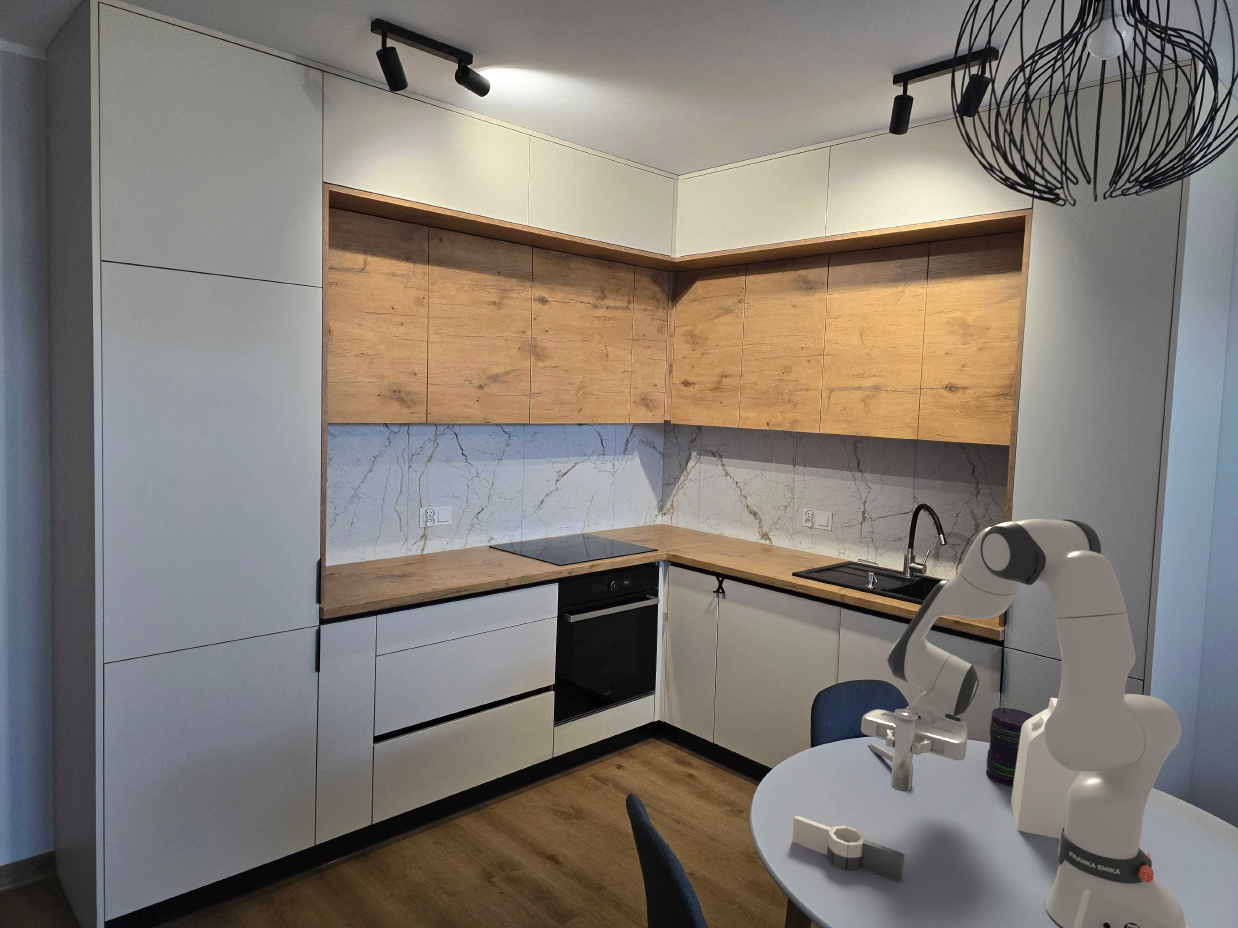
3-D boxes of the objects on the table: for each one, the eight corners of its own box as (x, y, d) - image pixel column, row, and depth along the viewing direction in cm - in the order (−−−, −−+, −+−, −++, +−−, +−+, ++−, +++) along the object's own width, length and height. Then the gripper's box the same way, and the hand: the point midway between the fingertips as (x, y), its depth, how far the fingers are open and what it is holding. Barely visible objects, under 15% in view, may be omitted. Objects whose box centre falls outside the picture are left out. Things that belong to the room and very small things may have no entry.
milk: (1079, 842, 169) (1093, 718, 167) (1017, 830, 173) (1029, 708, 170) (1069, 814, 181) (1082, 697, 178) (1010, 802, 184) (1022, 688, 182)
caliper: (912, 786, 191) (914, 759, 190) (907, 786, 190) (909, 759, 190) (871, 746, 211) (873, 722, 210) (867, 746, 210) (869, 722, 210)
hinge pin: (915, 785, 166) (921, 712, 164) (908, 794, 162) (914, 719, 161) (892, 779, 169) (898, 706, 167) (885, 787, 165) (891, 713, 163)
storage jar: (1041, 784, 194) (1048, 722, 192) (1009, 790, 190) (1015, 727, 188) (1007, 765, 203) (1013, 705, 201) (975, 770, 199) (981, 709, 198)
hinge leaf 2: (906, 872, 156) (908, 847, 155) (895, 889, 151) (898, 863, 150) (835, 846, 164) (837, 822, 163) (822, 861, 159) (824, 836, 158)
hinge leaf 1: (867, 858, 160) (869, 833, 160) (856, 874, 155) (858, 848, 154) (799, 833, 168) (801, 809, 167) (786, 847, 163) (788, 822, 162)
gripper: (874, 697, 181) (851, 716, 170) (975, 722, 169) (957, 745, 158) (872, 725, 181) (849, 746, 170) (972, 753, 170) (954, 778, 158)
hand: (902, 746), depth 164 cm, fingers closed on hinge pin, 4 cm apart
